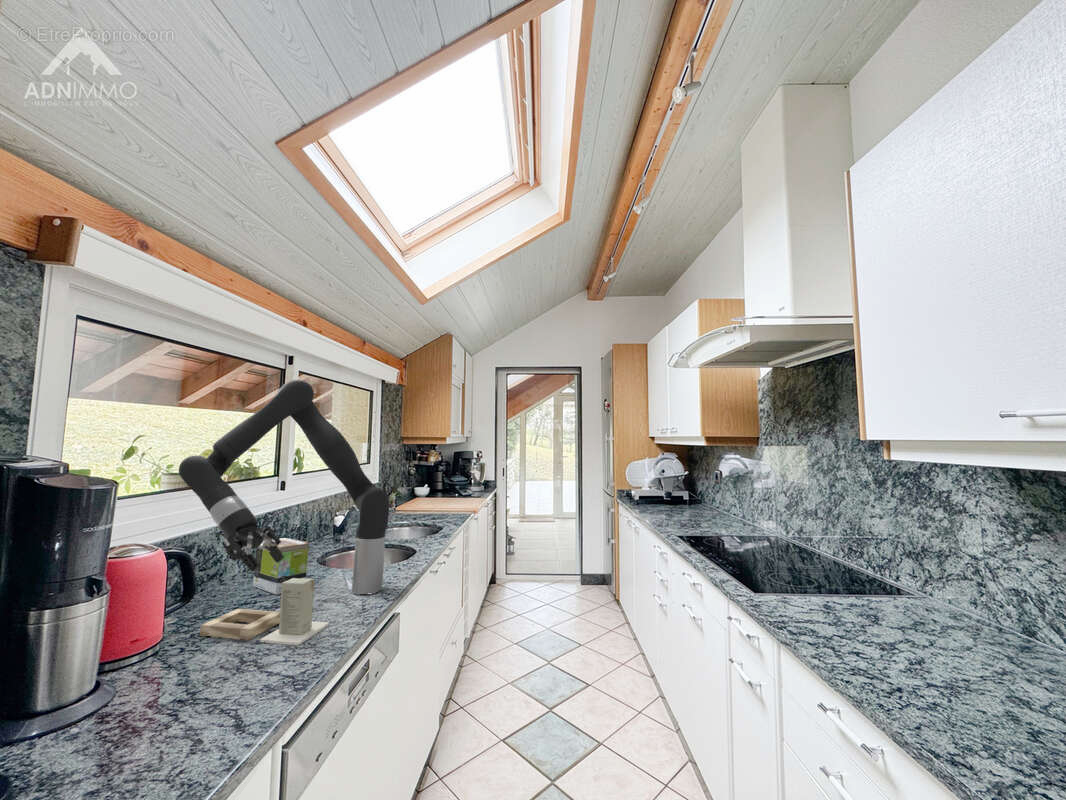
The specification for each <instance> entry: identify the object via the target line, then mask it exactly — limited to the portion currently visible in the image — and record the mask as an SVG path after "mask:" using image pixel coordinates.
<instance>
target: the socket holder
mask: <svg viewBox="0 0 1066 800" xmlns="http://www.w3.org/2000/svg"><path fill="white" fill-rule="evenodd" d="M236 622H247V623H236ZM235 623H236V624H235ZM278 624H280V611H273V610H259V609H249V608H248V609H247V608H237V609H234V610H232V611H230V612H227V613H225V614H223V615H220V616H218V617H216V618H214V619H211V620H209V621H207V622H205V623H203V624H201V625H200V630H199V636H200V637H206V636H211V637H210V638H218V637H222V638H221V639H229V638H234V639H233V640H240V639H245V640H244V641H250V640H252V639H253V638H255V637H256V635H257V636H259V635H260V634H262V633H264V632H266V631H268V630H269V629H272V628H274V627H275V626H277V625H278ZM267 629H268V630H267ZM258 634H259V635H258ZM254 636H255V637H254ZM252 637H253V638H252ZM249 639H250V640H249Z"/></svg>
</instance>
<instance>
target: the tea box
mask: <svg viewBox="0 0 1066 800" xmlns="http://www.w3.org/2000/svg"><path fill="white" fill-rule="evenodd" d="M279 539H280V541H281V543H280V544H279V545H278V546H277V547H278V549H279V550H280V551H281V553H282V554H283V556H284V558H283V559H282V560H281V561H280V562H278V563H276V562H275V560H274V559H273V558H272V556H271V555H270V554H269V552H268V551H266V550H264V549H259V548H255V550H256V551H255V559H256V560H257V562H258V563H259V564H260V566H259V567H258V568H257V569H256V570H255V571H253V572H254V573H253V581H252V587H254V588H256V587H257V589H260V590H263V591H266V592H267V593H268V592H269V593H271V594H274V595H276V596H277V595H281V589H282V583H283V582H285V581H287V580H290V579H292V578H305V579H307V571H308V559H309V547H310V542H309V541H308V542H307V541H304V540H298V539H294V538H288V537H282V538H279ZM264 541H265V540H263V542H264ZM272 541H274V539H272ZM274 542H275V541H274ZM267 546H269V544H267ZM269 547H270V546H269Z"/></svg>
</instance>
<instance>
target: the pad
mask: <svg viewBox="0 0 1066 800" xmlns="http://www.w3.org/2000/svg"><path fill="white" fill-rule="evenodd" d="M329 625H330V622H324V621H323V622H322V621H313V620H312V627H311V628H310V629H309V630H307V631H306V632H304V633H303V634H281V633H279V628H278V629H276V630H274V631H272V632H271V633H268V634H267V635H266V636H263V637H261V638H260V639H259V642H260V643H264V642H265V643H266V644H267V643H268V644H277V645H278V644H279V645H288V646H289V645H290V646H300V645H301V644H302V643H304V642H306V641H307V640H308V639H311V638H312V637H313V636H314V635H316V634H317V633H319V632H321V631H322V630H323V629H325V628H327V627H329ZM326 626H327V627H326Z"/></svg>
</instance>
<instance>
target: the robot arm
mask: <svg viewBox="0 0 1066 800" xmlns="http://www.w3.org/2000/svg"><path fill="white" fill-rule="evenodd" d="M314 395H315V394H314V389H313V387H312V385H311V384H309V383H308V382H306V381H304V380H301V379H293V380H289V381H287V382H286V383H284V384H283V385H282V386H280V387H279V389H278V391H277V394H275V396H274V397H273V398H272V399H271V400H270V401H268V403H266V404H265V405H264V406H263V407H262V408H260V409H258V410H257V411H256V412H255V413H253V414H252V415H251V416H249V417H248V418H246V419H245V420H243V421H241V422H240V423H238V425H236V426H235V427H234V428H231V430H229V431H228V432H226V433H225V434H224V435H222V436H221V437H220V438H218V439H217V440H216V441H215V442H214V443H213V445H212V449H213V450H212V452H211V453H210V454H209V456H207V457H205V456H202V455H196V454H195V455H191V456H188V457H185V458H184V459H183V460H182V461H181V462H180V464H179V467H178V474H179V476H180V478H181V479H182V481H183V482H184V483H185V484H186V485H187V486H188V487H189V488H190V490H192V492H193V493H194V494H196V496H197V497H198V498H199V499H200V501H201V503H202V504H203V505H204V507H205V508H206V510H207V511H208V513H209V514H210V516H211V518H212V520H213V521H214V523H215V524H216V525H217V527H218V528H219V530H221V531H220V532H222V534H223V535H224V536H225V539H224V540H223V541H222V542H221V545H222V546H223V548H224V549H225V551H226V553H227V554H228V556H229V557H230V558H231V560H232V561H235V562H236V561H237V560H239V561H241V562H242V563H244V564H245V566H246V568H247V569H248V570H250V572H254V571H255V570H256V569H257V568H258V567H259V566H260V564H259V563H258V562H257V560H256V556H254V554H252V553H251V551H252V550H253V549H257V548H259V549H264V550H266V551H268V552H269V554H270V555H271V556H272V558H273V559H274V560H275V562H276V563H278V562H280V561H281V560H282V559H283V558H284V556H283V554H282V553H281V551H280V550H279V549H278V547H277V546H278V545H279V544H280V543H281V541H280V538H279V537H278V536H277V535H276V533H275V532H274V531H273V530H272V528H270V527H269V526H265V528H262V529H260V528H259V527H258V519H257V518H256V516H255V515H254V513H253V512H252V511H251V509H250V508H249V507H248V506H247V504H246V503H245V502H244V501H243V500H242V498H240V497H239V495H237V493H236V492H235V490H234V489H233V488H232V487H231V486H230V485H229V484H228V483H227V482H226V481H225V480H224V479H222V477H223V475H225V473H226V472H227V471H228V470H229V469H230V468H231V466H232V465H233V464H234V462H235V461H236V460H237V459H238V458H240V457H241V456H242V455H243V454H245V453H246V452H247V451H248V450H249V449H251V448H253V446H254V445H256V444H258V442H259V441H260V440H261V439H262V438H264V437H265V436H266V434H268V433H269V432H271V430H273V429H274V428H276V426H278V424H280V423H282V422H283V421H284V420H286V419H287V418H289V417H291V418H292V419H293V421H294V422H295V423H296V424H297V425H298V427H299V428H301V430H302V433H304V434H305V437H306V438H307V440H308V442H309V443H310V445H311V446H312V448H313V449H314V450H315V452H316V454H317V455H318V456H319V458H320V459H321V460H322V462H323V463H324V464H325V466H326V467H327V468H328V469H329V471H330V472H331V473H332V474H333V475H334V477H336V479H338V480H339V482H340V483H341V484H342V485H343V487H345V489H346V491H347V493H348V494H349V497H350V498H351V499H352V501H353V503H354V505H355V507H356V508H357V509H358V511H359V512H360V513H359V520H358V521H359V522H358V527H357V528H356V530H355V542H354V543H355V544H354V546H355V547H354V556H353V571H352V573H353V574H352V586H351V593H352V592H353V593H355V594H354V595H356V594H368V593H374V592H377V591H380V590H381V589H382V590H383V586H382V585H383V584H384V583H383V582H384V568H385V567H384V566H385V548H386V547H385V546H386V544H385V543H386V531H387V529H388V526H389V518H390V517H389V515H390V497H389V495H388V492H386V491H385V490H384V489H381V488H378V487H376V486H375V485H374V484H373V482H372V481H371V480H370V479H369V477H367V476H366V474H365V472H364V471H363V469H362V467H361V463H360V462H359V460H358V458H357V455H356V453H355V451H354V450H353V447H351V445H350V444H349V442H348V441H347V440H346V438H345V437H344V435H343V434H342V433H341V432H340V431H339V429H337V428H336V427H335V426H334V425H333V424H331V422H329V421H328V420H327V419H326V418H325V417H324V416H323V415H322V414H321V412H320V410H319V408H318V407H317V406H316V404H315V402H314V401H313V399H314ZM272 540H274V541H275V542H274V541H272ZM263 541H264V542H263ZM267 544H269V546H270V547H269V546H267ZM382 590H381V591H382ZM381 591H380V592H381ZM353 593H352V594H353Z"/></svg>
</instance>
